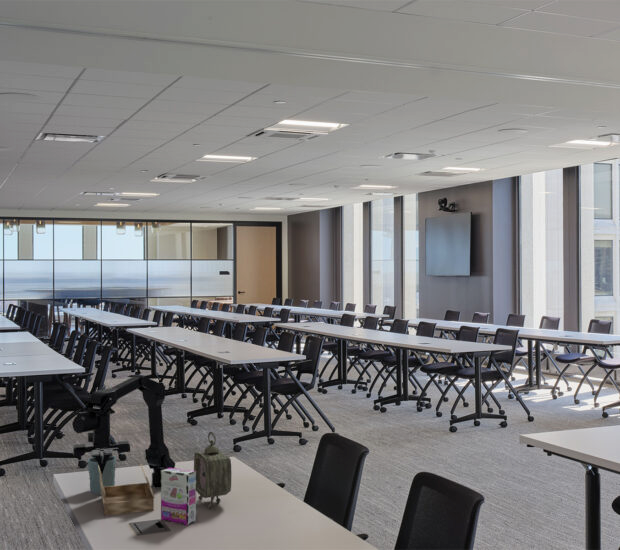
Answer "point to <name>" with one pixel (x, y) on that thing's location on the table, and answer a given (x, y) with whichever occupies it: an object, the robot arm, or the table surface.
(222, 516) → the table surface
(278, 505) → the table surface
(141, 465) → the flap
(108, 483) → the teal cup
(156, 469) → the robot arm
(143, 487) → the carton
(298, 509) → the table surface
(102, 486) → the flap
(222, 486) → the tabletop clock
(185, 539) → the table surface
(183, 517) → the candy bar box
